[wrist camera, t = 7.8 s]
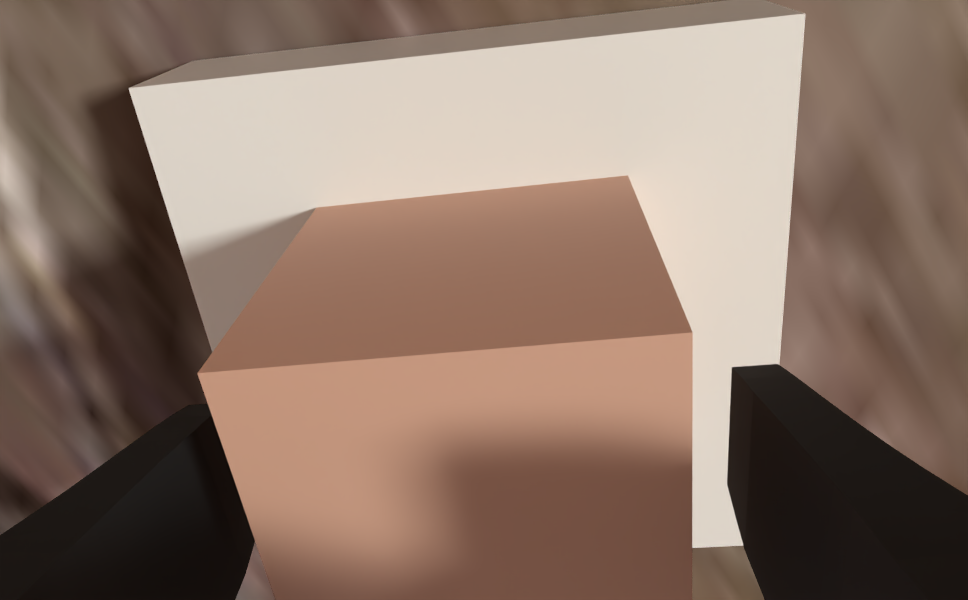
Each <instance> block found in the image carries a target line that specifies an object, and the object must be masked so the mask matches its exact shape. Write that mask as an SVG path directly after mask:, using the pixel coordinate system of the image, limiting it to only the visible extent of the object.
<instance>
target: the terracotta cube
mask: <svg viewBox="0 0 968 600" xmlns="http://www.w3.org/2000/svg"><path fill="white" fill-rule="evenodd" d="M197 374H198V377H199V380H200V383H201V385H202V388H203V391H204V394H205V397H206V400H207V403H208V406H209V409H210V412H211V414H212V417H213V420H214V423H215V426H216V429H217V432H218V435H219V438H220V441H221V443H222V446H223V449H224V452H225V455H226V458H227V461H228V464H229V467H230V470H231V472H232V475H233V478H234V481H235V484H236V487H237V490H238V493H239V496H240V499H241V502H242V504H243V507H244V510H245V513H246V516H247V519H248V522H249V525H250V528H251V531H252V533H253V536H254V539H255V542H256V545H257V548H258V551H259V554H260V557H261V560H262V562H263V565H264V568H265V571H266V574H267V577H268V580H269V583H270V586H271V589H272V591H273V594H274V597H275V600H692V421H693V332H692V330H691V327H690V325H689V322H688V320H687V318H686V315H685V313H684V310H683V308H682V305H681V303H680V301H679V298H678V296H677V293H676V291H675V288H674V286H673V284H672V281H671V279H670V276H669V274H668V272H667V269H666V267H665V264H664V262H663V259H662V257H661V255H660V252H659V250H658V247H657V245H656V242H655V240H654V238H653V235H652V233H651V230H650V228H649V225H648V223H647V221H646V218H645V216H644V213H643V211H642V208H641V206H640V204H639V201H638V199H637V196H636V194H635V191H634V189H633V187H632V184H631V182H630V179H629V177H628V175H627V176H617V177H608V178H598V179H588V180H579V181H569V182H559V183H549V184H540V185H530V186H520V187H511V188H501V189H491V190H481V191H472V192H462V193H452V194H443V195H433V196H423V197H414V198H404V199H394V200H384V201H375V202H365V203H355V204H346V205H336V206H326V207H317V208H316V209H315V210H314V212H313V213H312V215H311V216H310V217H309V219H308V220H307V221H306V223H305V224H304V226H303V227H302V228H301V230H300V231H299V233H298V234H297V235H296V237H295V238H294V240H293V241H292V242H291V244H290V245H289V247H288V248H287V249H286V251H285V252H284V253H283V255H282V256H281V258H280V259H279V260H278V262H277V263H276V265H275V266H274V267H273V269H272V270H271V272H270V273H269V274H268V276H267V277H266V279H265V280H264V281H263V283H262V284H261V285H260V287H259V288H258V290H257V291H256V292H255V294H254V295H253V297H252V298H251V299H250V301H249V302H248V304H247V305H246V306H245V308H244V309H243V311H242V312H241V313H240V315H239V316H238V317H237V319H236V320H235V322H234V323H233V324H232V326H231V327H230V329H229V330H228V331H227V333H226V334H225V336H224V337H223V338H222V340H221V341H220V343H219V344H218V345H217V347H216V348H215V349H214V351H213V352H212V354H211V355H210V356H209V358H208V359H207V361H206V362H205V363H204V365H203V366H202V368H201V369H200V370H199V372H198V373H197Z"/></svg>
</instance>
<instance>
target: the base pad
mask: <svg viewBox="0 0 968 600" xmlns="http://www.w3.org/2000/svg"><path fill="white" fill-rule="evenodd" d="M804 26H805V13H802V12H799V11H796V10H793V9H790V8H787V7H784V6H781V5H778V4H775V3H772V2H769V1H766V0H727V1H718V2H710V3H701V4H692V5H683V6H674V7H665V8H656V9H648V10H639V11H630V12H621V13H612V14H603V15H594V16H586V17H577V18H568V19H559V20H550V21H541V22H532V23H524V24H515V25H506V26H497V27H488V28H479V29H470V30H462V31H453V32H444V33H435V34H426V35H417V36H408V37H400V38H391V39H382V40H373V41H364V42H355V43H346V44H337V45H329V46H320V47H311V48H302V49H293V50H284V51H275V52H267V53H258V54H249V55H240V56H231V57H222V58H213V59H205V60H196V61H191V62H189V63H186V64H184V65H182V66H179V67H177V68H175V69H172V70H170V71H168V72H165V73H163V74H161V75H158V76H156V77H154V78H151V79H149V80H146V81H144V82H142V83H139V84H137V85H135V86H132V87H130V88H129V92H130V95H131V98H132V101H133V104H134V107H135V110H136V114H137V117H138V120H139V123H140V126H141V129H142V133H143V136H144V139H145V142H146V145H147V148H148V151H149V155H150V158H151V161H152V164H153V167H154V170H155V173H156V177H157V180H158V183H159V186H160V189H161V192H162V196H163V199H164V202H165V205H166V208H167V211H168V214H169V218H170V221H171V224H172V227H173V230H174V233H175V237H176V240H177V243H178V246H179V249H180V252H181V255H182V259H183V262H184V265H185V268H186V271H187V274H188V277H189V281H190V284H191V287H192V290H193V293H194V296H195V300H196V303H197V306H198V309H199V312H200V315H201V318H202V322H203V325H204V328H205V331H206V334H207V337H208V340H209V344H210V347H211V350H212V352H213V351H214V349H215V348H216V347H217V345H218V344H219V343H220V341H221V340H222V338H223V337H224V336H225V334H226V333H227V331H228V330H229V329H230V327H231V326H232V324H233V323H234V322H235V320H236V319H237V317H238V316H239V315H240V313H241V312H242V311H243V309H244V308H245V306H246V305H247V304H248V302H249V301H250V299H251V298H252V297H253V295H254V294H255V292H256V291H257V290H258V288H259V287H260V285H261V284H262V283H263V281H264V280H265V279H266V277H267V276H268V274H269V273H270V272H271V270H272V269H273V267H274V266H275V265H276V263H277V262H278V260H279V259H280V258H281V256H282V255H283V253H284V252H285V251H286V249H287V248H288V247H289V245H290V244H291V242H292V241H293V240H294V238H295V237H296V235H297V234H298V233H299V231H300V230H301V228H302V227H303V226H304V224H305V223H306V221H307V220H308V219H309V217H310V216H311V215H312V213H313V212H314V210H315V209H316V208H317V207H326V206H336V205H346V204H355V203H365V202H375V201H384V200H394V199H404V198H414V197H423V196H433V195H443V194H452V193H462V192H472V191H481V190H491V189H501V188H511V187H520V186H530V185H540V184H549V183H559V182H569V181H579V180H588V179H598V178H608V177H617V176H627V175H628V177H629V179H630V182H631V184H632V187H633V189H634V191H635V194H636V196H637V199H638V201H639V204H640V206H641V208H642V211H643V213H644V216H645V218H646V221H647V223H648V225H649V228H650V230H651V233H652V235H653V238H654V240H655V242H656V245H657V247H658V250H659V252H660V255H661V257H662V259H663V262H664V264H665V267H666V269H667V272H668V274H669V276H670V279H671V281H672V284H673V286H674V288H675V291H676V293H677V296H678V298H679V301H680V303H681V305H682V308H683V310H684V313H685V315H686V318H687V320H688V322H689V325H690V327H691V330H692V332H693V421H692V548H700V547H721V546H742V545H743V542H742V538H741V535H740V531H739V528H738V524H737V520H736V517H735V513H734V509H733V505H732V501H731V497H730V494H729V490H728V486H727V472H728V447H729V423H730V398H731V374H732V367H741V366H755V365H769V364H778V365H779V362H780V348H781V335H782V322H783V308H784V295H785V281H786V268H787V254H788V241H789V227H790V214H791V200H792V187H793V174H794V160H795V147H796V133H797V120H798V106H799V93H800V79H801V66H802V52H803V39H804Z"/></svg>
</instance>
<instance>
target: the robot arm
mask: <svg viewBox="0 0 968 600" xmlns="http://www.w3.org/2000/svg"><path fill="white" fill-rule="evenodd" d="M727 486H728V490H729V494H730V497H731V501H732V505H733V509H734V513H735V517H736V520H737V524H738V528H739V531H740V535H741V538H742V542H743V546H744V549H745V552H746V554H747V557H748V559H749V562H750V564H751V567H752V569H753V572H754V574H755V577H756V579H757V582H758V584H759V587H760V589H761V591H762V594H763V596H764V599H765V600H968V495H966V494H964V493H963V492H961V491H959V490H958V489H956V488H955V487H953V486H951V485H950V484H948V483H947V482H945V481H943V480H942V479H940V478H939V477H937V476H935V475H934V474H932V473H931V472H929V471H928V470H926V469H924V468H923V467H921V466H920V465H918V464H917V463H915V462H914V461H912V460H911V459H909V458H908V457H906V456H905V455H903V454H902V453H900V452H899V451H897V450H896V449H894V448H893V447H891V446H890V445H888V444H887V443H885V442H884V441H883V440H881V439H880V438H878V437H877V436H875V435H874V434H873V433H871V432H870V431H868V430H867V429H866V428H864V427H863V426H861V425H860V424H859V423H857V422H856V421H854V420H853V419H852V418H850V417H849V416H848V415H846V414H845V413H843V412H842V411H841V410H839V409H838V408H837V407H835V406H834V405H833V404H831V403H830V402H829V401H827V400H826V399H825V398H823V397H822V396H821V395H819V394H818V393H817V392H815V391H814V390H813V389H811V388H810V387H809V386H807V385H806V384H805V383H803V382H802V381H801V380H799V379H798V378H797V377H795V376H794V375H793V374H791V373H790V372H788V371H787V370H786V369H784V368H783V367H781V366H780V365H778V364H769V365H755V366H741V367H732V374H731V398H730V423H729V447H728V472H727ZM254 542H255V539H254V536H253V533H252V531H251V528H250V525H249V522H248V519H247V516H246V513H245V510H244V507H243V504H242V502H241V499H240V496H239V493H238V490H237V487H236V484H235V481H234V478H233V475H232V472H231V470H230V467H229V464H228V461H227V458H226V455H225V452H224V449H223V446H222V443H221V441H220V438H219V435H218V432H217V429H216V426H215V423H214V420H213V417H212V414H211V412H210V409H209V406H208V404H199V405H188V406H187V407H185V408H183V409H182V410H180V411H178V412H176V413H175V414H173V415H172V416H170V417H169V418H167V419H166V420H164V421H163V422H161V423H160V424H158V425H157V426H156V427H154V428H153V429H151V430H150V431H148V432H147V433H146V434H144V435H143V436H141V437H140V438H139V439H137V440H136V441H134V442H133V443H132V444H130V445H129V446H128V447H126V448H125V449H123V450H122V451H121V452H119V453H118V454H116V455H115V456H114V457H112V458H111V459H110V460H108V461H107V462H105V463H104V464H103V465H101V466H100V467H98V468H97V469H96V470H94V471H93V472H92V473H90V474H89V475H87V476H86V477H85V478H83V479H82V480H80V481H79V482H78V483H76V484H75V485H74V486H72V487H71V488H69V489H68V490H67V491H65V492H64V493H62V494H61V495H59V496H58V497H56V498H55V499H53V500H52V501H50V502H49V503H47V504H46V505H44V506H43V507H42V508H40V509H39V510H37V511H36V512H34V513H33V514H31V515H30V516H28V517H27V518H25V519H24V520H22V521H21V522H19V523H18V524H16V525H15V526H13V527H12V528H10V529H9V530H7V531H6V532H4V533H3V534H2V535H0V600H235V598H236V596H237V594H238V591H239V589H240V586H241V584H242V581H243V579H244V576H245V574H246V570H247V567H248V563H249V560H250V556H251V553H252V549H253V546H254Z"/></svg>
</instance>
